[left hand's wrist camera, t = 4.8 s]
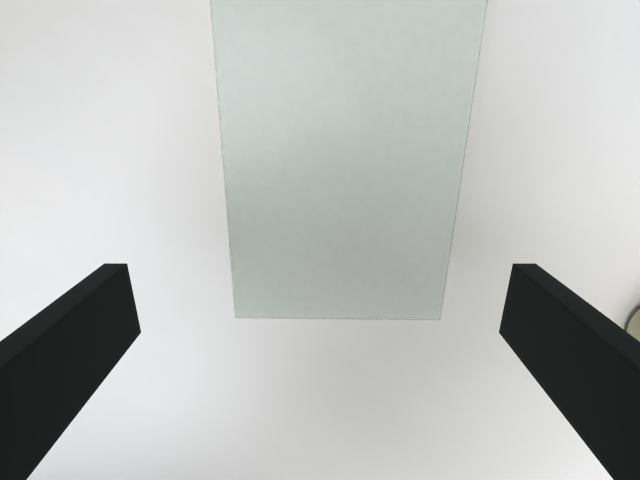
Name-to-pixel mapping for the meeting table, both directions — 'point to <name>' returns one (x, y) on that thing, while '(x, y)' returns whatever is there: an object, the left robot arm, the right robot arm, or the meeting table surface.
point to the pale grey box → (343, 151)
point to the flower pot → (634, 326)
